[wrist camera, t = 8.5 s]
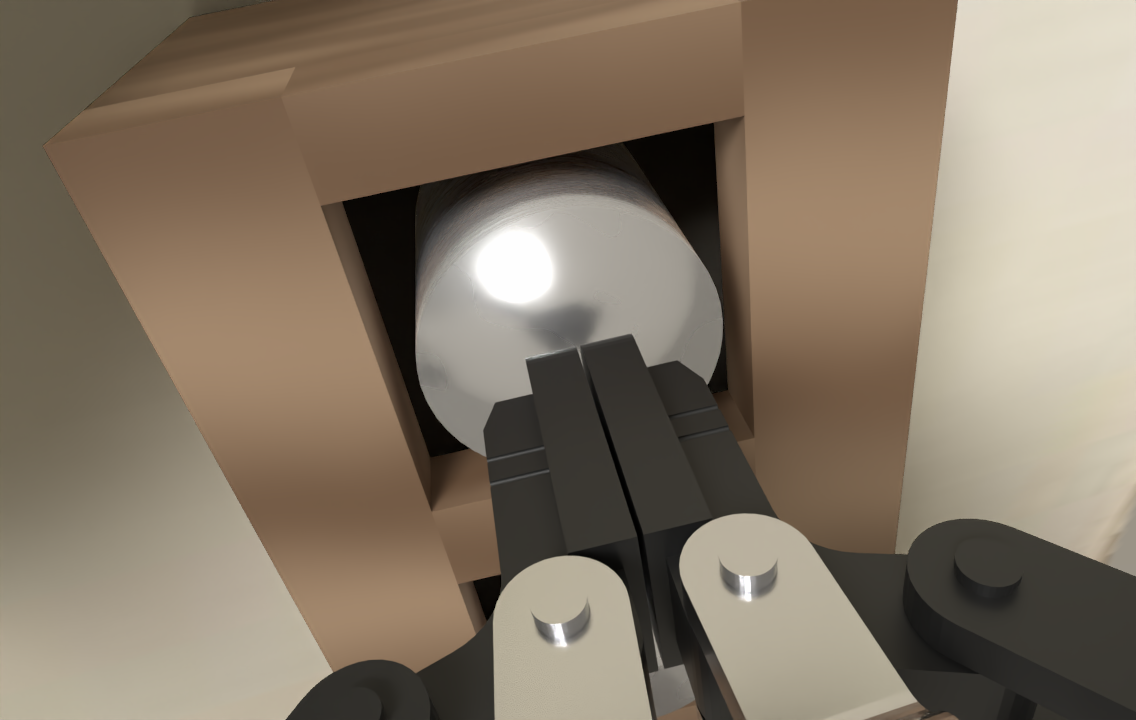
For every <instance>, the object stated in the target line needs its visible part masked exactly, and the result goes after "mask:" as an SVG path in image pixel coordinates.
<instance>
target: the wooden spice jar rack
mask: <svg viewBox="0 0 1136 720" xmlns="http://www.w3.org/2000/svg"><path fill="white" fill-rule="evenodd" d="M957 3H958V0H274V1H269V2H264V3H259V4H254V5H250V6H245V7H240V8H235V9H230V10H225V11H220V12H215V13H210V14H205V15H200V16H195V17H190V18H189V19H188V20H186V21H185V22H184V23H183V24H182V25H181V26H180V27H178V28H177V29H176V30H175V31H174V32H173V33H172V34H170V35H169V36H168V37H167V38H166V39H165V40H164V41H162V42H161V43H160V44H159V45H158V46H157V47H155V48H154V49H153V50H152V51H151V52H150V53H149V54H147V55H146V56H145V57H144V58H143V59H142V60H141V61H139V62H138V63H137V64H136V65H135V66H134V67H133V68H131V69H130V70H129V71H128V72H127V73H126V74H125V75H123V76H122V77H121V78H120V79H119V80H118V81H117V82H115V83H114V84H113V85H112V86H111V87H110V88H109V89H107V90H106V91H105V92H104V93H103V94H102V95H100V96H99V97H98V98H97V99H96V100H95V101H94V102H92V103H91V104H90V105H89V106H88V107H87V108H86V109H84V110H83V111H82V112H81V113H80V114H79V115H78V116H76V117H75V118H74V119H73V120H72V121H71V122H70V123H68V124H67V125H66V126H65V127H64V128H63V129H62V130H60V131H59V132H58V133H57V134H56V135H55V136H54V137H52V138H51V139H50V140H49V141H48V142H47V143H45V144H44V145H43V148H44V150H45V151H46V153H47V155H48V157H49V159H50V160H51V162H52V164H53V166H54V168H55V169H56V171H57V173H58V175H59V177H60V179H61V180H62V182H63V184H64V186H65V188H66V189H67V191H68V193H69V195H70V197H71V198H72V200H73V202H74V204H75V206H76V207H77V209H78V211H79V213H80V215H81V217H82V218H83V220H84V222H85V224H86V226H87V227H88V229H89V231H90V233H91V235H92V236H93V238H94V240H95V242H96V244H97V245H98V247H99V249H100V251H101V253H102V254H103V256H104V258H105V260H106V262H107V264H108V265H109V267H110V269H111V271H112V273H113V274H114V276H115V278H116V280H117V282H118V283H119V285H120V287H121V289H122V291H123V292H124V294H125V296H126V298H127V300H128V302H129V303H130V305H131V307H132V309H133V311H134V312H135V314H136V316H137V318H138V320H139V321H140V323H141V325H142V327H143V329H144V330H145V332H146V334H147V336H148V338H149V340H150V341H151V343H152V345H153V347H154V349H155V350H156V352H157V354H158V356H159V358H160V359H161V361H162V363H163V365H164V367H165V368H166V370H167V372H168V374H169V376H170V378H171V379H172V381H173V383H174V385H175V387H176V388H177V390H178V392H179V394H180V396H181V397H182V399H183V401H184V403H185V405H186V406H187V408H188V410H189V412H190V414H191V415H192V417H193V419H194V421H195V423H196V425H197V426H198V428H199V430H200V432H201V434H202V435H203V437H204V439H205V441H206V443H207V444H208V446H209V448H210V450H211V452H212V453H213V455H214V457H215V459H216V461H217V463H218V464H219V466H220V468H221V470H222V472H223V473H224V475H225V477H226V479H227V481H228V482H229V484H230V486H231V488H232V490H233V491H234V493H235V495H236V497H237V499H238V501H239V502H240V504H241V506H242V508H243V510H244V511H245V513H246V515H247V517H248V519H249V520H250V522H251V524H252V526H253V528H254V529H255V531H256V533H257V535H258V537H259V538H260V540H261V542H262V544H263V546H264V548H265V549H266V551H267V553H268V555H269V557H270V558H271V560H272V562H273V564H274V566H275V567H276V569H277V571H278V573H279V575H280V576H281V578H282V580H283V582H284V584H285V586H286V587H287V589H288V591H289V593H290V595H291V596H292V598H293V600H294V602H295V604H296V605H297V607H298V609H299V611H300V613H301V614H302V616H303V618H304V620H305V622H306V624H307V625H308V627H309V629H310V631H311V633H312V634H313V636H314V638H315V640H316V642H317V643H318V645H319V647H320V649H321V651H322V652H323V654H324V656H325V658H326V660H327V662H328V663H329V665H330V667H331V669H332V671H333V672H335V671H337V670H339V669H341V668H343V667H345V666H348V665H351V664H354V663H357V662H361V661H367V660H380V659H381V660H389V661H394V662H397V663H400V664H403V665H404V666H406V667H408V668H410V669H411V670H412V671H413V672H415V673H417V672H419V671H420V670H422V669H424V668H426V667H427V666H429V665H431V664H433V663H434V662H436V661H438V660H440V659H441V658H443V657H445V656H447V655H448V654H450V653H452V652H454V651H455V650H457V649H458V648H460V647H461V646H463V645H464V644H466V643H467V642H468V641H469V640H470V639H472V638H473V637H474V636H475V635H476V634H477V633H478V632H479V631H480V630H481V629H482V628H483V626H484V625H485V624H486V622H487V621H486V618H485V615H484V612H483V609H482V607H481V604H480V601H479V598H478V595H477V592H476V589H475V586H474V583H473V581H474V580H478V579H482V578H486V577H491V576H495V575H499V574H501V571H500V562H499V554H498V546H497V538H496V530H495V522H494V514H493V506H492V498H491V490H490V488H491V486H490V482H489V474H488V466H487V464H488V463H487V458H486V457H485V456H483V455H481V454H479V453H477V452H475V451H473V450H472V449H467V450H462V451H458V452H453V453H449V454H445V455H440V456H436V457H431V458H430V456H429V453H428V450H427V447H426V444H425V441H424V438H423V435H422V433H421V430H420V427H419V424H418V421H417V418H416V415H415V412H414V409H413V406H412V404H411V401H410V398H409V395H408V392H407V389H406V386H405V383H404V380H403V377H402V375H401V372H400V369H399V366H398V363H397V360H396V357H395V354H394V351H393V348H392V346H391V343H390V340H389V337H388V334H387V331H386V328H385V325H384V322H383V319H382V317H381V314H380V311H379V308H378V305H377V302H376V299H375V296H374V293H373V290H372V288H371V285H370V282H369V279H368V276H367V273H366V270H365V267H364V264H363V261H362V259H361V256H360V253H359V250H358V247H357V244H356V241H355V238H354V235H353V232H352V230H351V227H350V224H349V221H348V218H347V215H346V212H345V209H344V206H343V203H342V201H346V200H350V199H355V198H360V197H365V196H369V195H374V194H379V193H383V192H388V191H393V190H397V189H402V188H407V187H412V186H416V185H421V184H426V183H430V182H435V181H440V180H445V179H449V178H454V177H459V176H463V175H468V174H473V173H478V172H482V171H487V170H492V169H496V168H501V167H506V166H511V165H515V164H520V163H525V162H529V161H534V160H539V159H543V158H548V157H553V156H558V155H562V154H567V153H572V152H576V151H581V150H586V149H591V148H595V147H600V146H605V145H609V144H614V143H619V142H624V141H628V140H633V139H638V138H642V137H647V136H652V135H656V134H661V133H666V132H671V131H675V130H680V129H685V128H689V127H694V126H699V125H704V124H708V123H713V122H714V136H715V154H716V173H717V192H718V210H719V229H720V248H721V266H722V285H723V304H724V322H725V341H726V360H727V378H728V390H727V391H723V392H718V393H714V394H712V395H713V397H714V399H715V401H716V403H717V406H718V409H720V410H721V412H722V414H723V416H724V418H725V420H726V422H727V424H728V427H729V430H730V431H732V433H733V435H734V437H735V439H736V441H737V443H738V444H739V446H740V448H741V450H742V452H743V454H744V456H745V458H746V460H747V461H748V463H749V465H750V467H751V469H752V471H753V473H754V475H755V477H756V478H757V480H758V482H759V484H760V486H761V488H762V490H763V492H764V494H765V495H766V497H767V499H768V501H769V503H770V505H771V507H772V509H773V510H774V512H775V513H776V515H777V517H778V518H779V519H780V520H781V521H783V522H785V523H787V524H789V525H791V526H792V527H794V528H795V529H797V530H798V531H799V532H800V533H801V534H803V535H804V536H805V537H806V538H807V540H808V541H810V542H812V543H814V544H816V545H819V546H822V547H825V548H828V549H833V550H837V551H842V552H853V553H876V554H895V546H896V537H897V528H898V519H899V511H900V502H901V493H902V484H903V476H904V467H905V458H906V449H907V441H908V432H909V423H910V415H911V406H912V397H913V388H914V380H915V371H916V362H917V353H918V345H919V336H920V327H921V318H922V310H923V301H924V292H925V283H926V275H927V266H928V257H929V248H930V240H931V231H932V222H933V213H934V205H935V196H936V187H937V178H938V170H939V161H940V152H941V143H942V135H943V126H944V117H945V108H946V100H947V91H948V82H949V73H950V65H951V56H952V47H953V38H954V30H955V21H956V12H957ZM657 720H697V711H696V703H695V700H694V701H693V702H691V703H689V704H687V705H685V706H684V707H682V708H680V709H677V710H675V711H673V712H671V713H669V714H666V715H663V716H660V717H658V718H657Z"/></svg>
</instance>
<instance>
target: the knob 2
mask: <svg viewBox="0 0 1136 720" xmlns="http://www.w3.org/2000/svg"><path fill="white" fill-rule="evenodd" d="M415 314H416V365H417V373H418V377H419V381H420V385H421V389H422V391H423V393H424V396H425V398H426V401H427V403H428V405H429V406H430V408H431V409H432V411H433V413H434V414H435V416H436V418H437V419H438V420H439V421H440V422H441V423H442V425H443V426H444V427H445V428H446V429H447V430H448V431H449V432H450V433H451V434H452V435H453V436H454V437H455V438H457V439H458V440H459V441H460V442H461V443H463V444H464V445H466V446H467V447H469V448H470V449H472V450H473V451H475V452H477V453H479V454H481V455H483V456H485V457H486V450H485V442H484V434H483V429H484V427H485V425H486V422H487V420H488V418H489V415H490V413H491V411H492V409H493V406H494V404H495V402H499V401H504V400H508V399H512V398H517V397H521V396H525V395H530V394H533V393H532V388H531V384H530V379H529V374H528V370H527V365H526V361H525V358H527V357H532V356H536V355H540V354H545V353H549V352H553V351H558V350H562V349H566V348H571V347H575V346H576V348H577V350H578V353H579V356H580V359H581V352H580V345H583V344H587V343H592V342H596V341H601V340H605V339H609V338H614V337H618V336H622V335H627V334H632V335H633V337H634V339H635V341H636V343H637V346H638V348H639V350H640V353H641V355H642V357H643V359H644V362H645V364H646V366H647V367H650V366H654V365H659V364H663V363H667V362H672V361H676V360H678V361H679V362H681V363H682V364H683V365H685V366H686V367H688V368H689V369H691V370H692V371H693V372H695V373H696V374H698V375H699V376H701V377H702V378H703V379H704V380H705V382H706V384H707V385H708V383H709V381H710V379H711V376H712V374H713V372H714V370H715V367H716V364H717V361H718V358H719V354H720V349H721V343H722V337H723V318H722V310H721V303H720V300H719V296H718V293H717V290H716V287H715V285H714V283H713V281H712V278H711V276H710V274H709V272H708V271H707V269H706V268H705V266H704V264H703V263H702V261H701V260H700V258H699V257H698V255H697V254H696V252H695V251H694V249H693V248H692V246H691V245H690V243H689V242H688V240H687V238H686V237H685V235H684V234H683V232H682V231H681V229H680V228H679V226H678V225H677V223H676V222H675V220H674V219H673V217H672V216H671V214H670V212H669V211H668V209H667V208H666V206H665V205H664V203H663V202H662V200H661V199H660V197H659V196H658V194H657V193H656V191H655V190H654V188H653V186H652V185H651V183H650V182H649V180H648V179H647V177H646V176H645V174H644V173H643V171H642V170H641V168H640V167H639V165H638V163H637V162H636V160H635V159H634V157H633V156H632V154H631V153H630V152H629V150H628V149H627V147H626V146H625V145H624V144H623V142H619V143H614V144H609V145H605V146H600V147H595V148H591V149H586V150H581V151H576V152H572V153H567V154H562V155H558V156H553V157H548V158H543V159H539V160H534V161H529V162H525V163H520V164H515V165H511V166H506V167H501V168H496V169H492V170H487V171H482V172H478V173H473V174H468V175H463V176H459V177H454V178H449V179H445V180H440V181H435V182H430V183H426V184H421V186H420V189H419V193H418V198H417V202H416V214H415ZM581 362H582V359H581ZM582 366H583V364H582Z"/></svg>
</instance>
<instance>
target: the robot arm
mask: <svg viewBox="0 0 1136 720" xmlns="http://www.w3.org/2000/svg"><path fill="white" fill-rule="evenodd" d="M580 352H581V359H582V362H581V359H580V356H579V353H578V350H577V348H576V346H575V347H571V348H566V349H562V350H558V351H553V352H549V353H545V354H540V355H536V356H532V357H527V358H525V361H526V365H527V370H528V374H529V379H530V384H531V388H532V393H533V394H530V395H525V396H521V397H517V398H512V399H508V400H504V401H499V402H495V404H494V406H493V409H492V411H491V413H490V415H489V418H488V420H487V422H486V425H485V427H484V429H483V434H484V442H485V450H486V458H487V463H488V464H487V466H488V474H489V482H490V486H491V488H490V490H491V498H492V506H493V514H494V522H495V530H496V538H497V546H498V554H499V562H500V571H501V591H500V596H499V599H498V601H497V603H496V607H495V609H494V611H493V613H492V615H491V617H490V618H489V619H488V621H487V622H486V624H485V625H484V626H483V628H482V629H481V630H480V631H479V632H478V633H477V634H476V635H475V636H474V637H473V638H472V639H470V640H469V641H468V642H467V643H466V644H464V645H463V646H461V647H460V648H458V649H457V650H455V651H454V652H452V653H450V654H448V655H447V656H445V657H443V658H441V659H440V660H438V661H436V662H434V663H433V664H431V665H429V666H427V667H426V668H424V669H422V670H420V671H419V672H417V673H415V672H413V671H412V670H411V669H410V668H408V667H406V666H404V665H403V664H400V663H397V662H394V661H389V660H381V659H380V660H367V661H361V662H357V663H354V664H351V665H348V666H345V667H343V668H341V669H339V670H337V671H335V672H333V673H332V674H330V675H329V676H327V677H326V678H324V679H323V680H322V681H320V682H319V683H318V684H317V685H316V686H315V687H313V688H312V689H311V690H310V691H309V692H308V693H307V695H306V696H305V697H304V698H303V699H302V700H301V701H300V703H299V704H298V705H297V706H296V708H295V709H294V710H293V711H292V712H291V714H290V715H289V716H288V717H287V719H286V720H657V717H656V711H655V705H654V700H653V694H652V688H651V682H650V676H649V673H652V672H657V671H659V669H658V663H657V656H656V650H655V644H654V638H653V634H654V637H655V640H656V644H657V647H658V650H659V654H660V657H661V660H662V663H663V667H664V669H667V668H671V667H675V666H679V665H683V664H684V666H685V669H686V672H687V675H688V678H689V682H690V685H691V688H692V691H693V694H694V697H695V703H696V711H697V720H1136V576H1133V575H1130V574H1128V573H1125V572H1123V571H1120V570H1118V569H1115V568H1113V567H1110V566H1108V565H1105V564H1103V563H1100V562H1098V561H1095V560H1093V559H1090V558H1088V557H1085V556H1083V555H1080V554H1078V553H1075V552H1073V551H1070V550H1068V549H1065V548H1063V547H1060V546H1058V545H1055V544H1053V543H1050V542H1048V541H1045V540H1043V539H1040V538H1038V537H1035V536H1033V535H1030V534H1028V533H1025V532H1023V531H1020V530H1017V529H1015V528H1012V527H1009V526H1006V525H1003V524H1000V523H996V522H992V521H987V520H979V519H957V520H950V521H946V522H942V523H939V524H936V525H934V526H932V527H930V528H928V529H927V530H925V531H924V532H922V533H921V534H920V535H919V536H918V537H917V538H916V539H915V541H914V542H913V544H912V546H911V548H910V549H909V553H908V555H905V554H876V553H853V552H842V551H837V550H833V549H828V548H825V547H822V546H819V545H816V544H814V543H812V542H810V541H808V540H807V538H806V537H805V536H804V535H803V534H801V533H800V532H799V531H798V530H797V529H795V528H794V527H792V526H791V525H789V524H787V523H785V522H783V521H781V520H780V519H779V518H778V517H777V515H776V513H775V512H774V510H773V509H772V507H771V505H770V503H769V501H768V499H767V497H766V495H765V494H764V492H763V490H762V488H761V486H760V484H759V482H758V480H757V478H756V477H755V475H754V473H753V471H752V469H751V467H750V465H749V463H748V461H747V460H746V458H745V456H744V454H743V452H742V450H741V448H740V446H739V444H738V443H737V441H736V439H735V437H734V435H733V433H732V431H730V430H729V427H728V424H727V422H726V420H725V418H724V416H723V414H722V412H721V410H720V409H718V406H717V403H716V401H715V399H714V397H713V395H712V393H711V392H710V390H709V388H708V386H707V384H706V382H705V380H704V379H703V378H702V377H701V376H699V375H698V374H696V373H695V372H693V371H692V370H691V369H689V368H688V367H686V366H685V365H683V364H682V363H681V362H679V361H678V360H676V361H672V362H667V363H663V364H659V365H654V366H650V367H647V366H646V364H645V362H644V359H643V357H642V355H641V353H640V350H639V348H638V346H637V343H636V341H635V339H634V337H633V335H632V334H627V335H622V336H618V337H614V338H609V339H605V340H601V341H596V342H592V343H587V344H583V345H580ZM582 364H583V366H582ZM652 630H653V631H652Z"/></svg>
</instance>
